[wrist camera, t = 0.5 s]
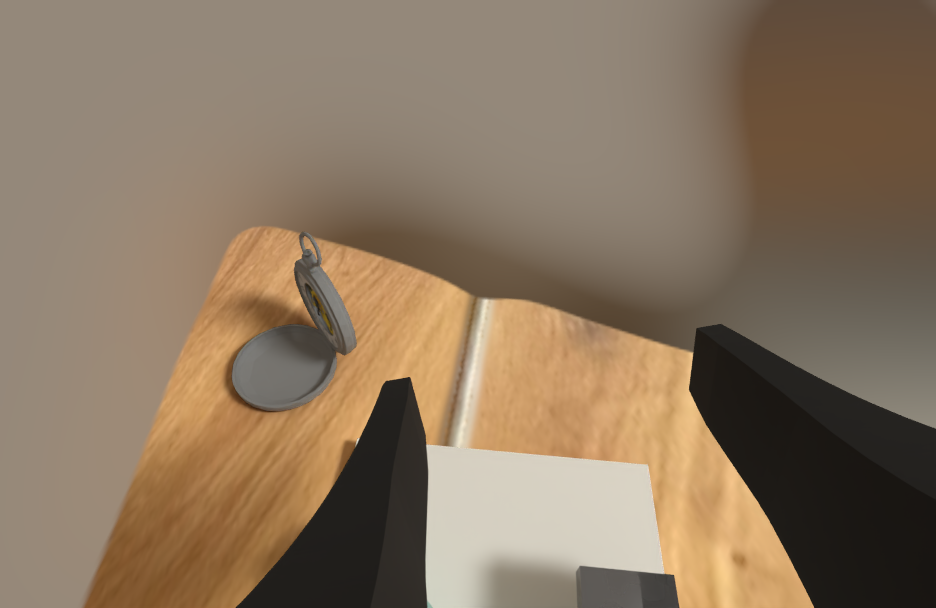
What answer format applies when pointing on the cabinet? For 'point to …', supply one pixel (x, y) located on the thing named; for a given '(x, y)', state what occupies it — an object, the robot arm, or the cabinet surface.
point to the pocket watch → (297, 345)
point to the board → (531, 526)
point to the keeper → (624, 589)
